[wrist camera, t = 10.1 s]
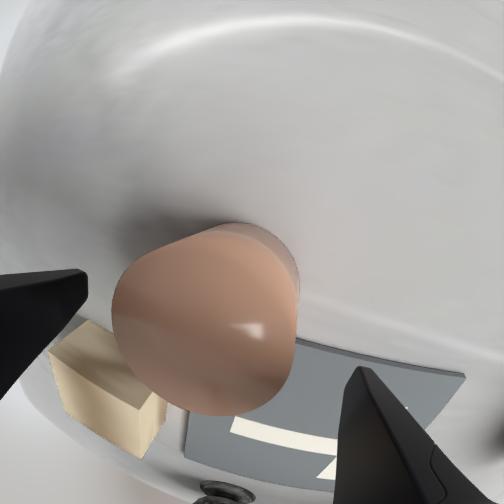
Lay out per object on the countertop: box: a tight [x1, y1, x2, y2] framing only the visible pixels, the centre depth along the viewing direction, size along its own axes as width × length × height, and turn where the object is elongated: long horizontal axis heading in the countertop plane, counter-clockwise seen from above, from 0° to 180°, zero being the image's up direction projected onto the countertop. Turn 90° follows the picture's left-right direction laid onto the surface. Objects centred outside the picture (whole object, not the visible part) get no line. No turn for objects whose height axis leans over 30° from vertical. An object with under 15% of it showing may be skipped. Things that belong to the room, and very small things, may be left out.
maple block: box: [48, 319, 167, 459], centre depth 14 cm, size 6×6×4 cm
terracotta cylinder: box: [111, 223, 300, 416], centre depth 9 cm, size 5×5×5 cm
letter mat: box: [184, 338, 466, 492], centre depth 14 cm, size 14×14×1 cm
